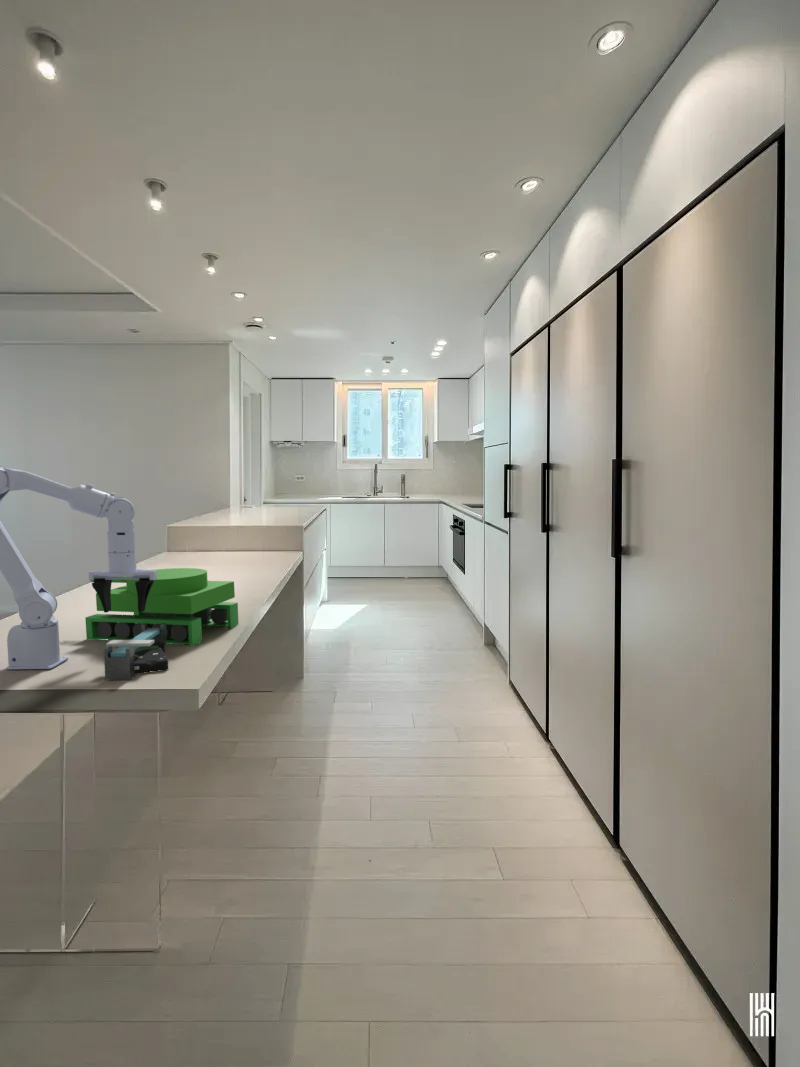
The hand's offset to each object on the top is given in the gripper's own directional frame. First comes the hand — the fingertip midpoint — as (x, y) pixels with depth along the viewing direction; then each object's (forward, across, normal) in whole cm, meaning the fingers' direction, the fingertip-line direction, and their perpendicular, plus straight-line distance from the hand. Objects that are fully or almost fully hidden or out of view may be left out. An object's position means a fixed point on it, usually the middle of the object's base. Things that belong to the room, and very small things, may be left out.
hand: (124, 611), depth 150 cm
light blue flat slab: (+6, +5, -6) cm, 10 cm away
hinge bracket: (+10, +5, +4) cm, 12 cm away
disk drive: (+11, +5, -6) cm, 14 cm away
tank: (+11, -2, +25) cm, 27 cm away
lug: (+10, +5, -16) cm, 20 cm away
